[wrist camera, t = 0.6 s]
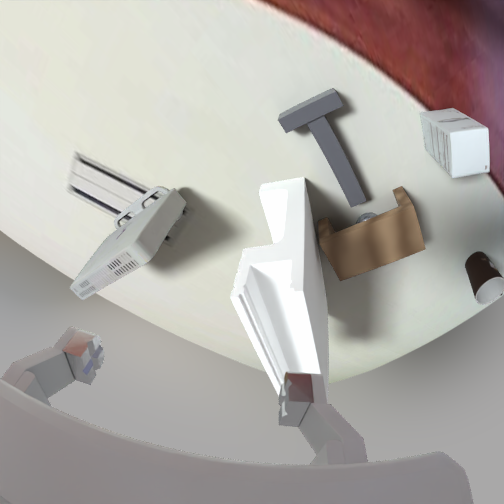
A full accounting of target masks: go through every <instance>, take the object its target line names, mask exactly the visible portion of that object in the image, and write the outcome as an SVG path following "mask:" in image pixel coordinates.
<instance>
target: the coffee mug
mask: <svg viewBox="0 0 504 504" xmlns="http://www.w3.org/2000/svg"><path fill="white" fill-rule="evenodd" d="M465 268H466V271H467V274H468V277H469V280H470V283H471V286H472V289H473V293H474V296H475V299H476V302H477V303H478V304H482V305H484V304H488V303H491V302H493V301H494V300H496V299H497V298H498V297H499V296H500V295H502V292H503V291H504V278H503V277H502V276H501V274H500V273H499V272H498V270H497V269H496V268H495V266H494V265H493V264H492V262H491V261H490V260H489V259H488V257H487V256H486V255H485V254H484V253H483V252H476V253H474V254H472V255H471V256H470V257H469V258H468V259H467V261H466V264H465Z"/></svg>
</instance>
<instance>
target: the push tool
mask: <svg viewBox="0 0 504 504" xmlns="http://www.w3.org/2000/svg"><path fill="white" fill-rule="evenodd" d="M342 106H344V105H343V104H342V102H341V100H340V98H339V96H338V94H337V93H336V91H335V90H334V89H333V88H332V89H329V90H327V91H325V92H323V93H321V94H319V95H317V96H315V97H313V98H310V99H308V100H306V101H304V102H302V103H300V104H298V105H296V106H294V107H292V108H290V109H289V110H287V111H285V112H283V113H281V114H280V115H279V118H278V121H279V123H280V124H281V126H282V127H283V129H284V130H285V132H286V133H288V132H290V131H292V130H294V129H296V128H298V127H300V126H302V125H304V124H306V123H307V125H308V127H309V129H310V130H311V132H312V134H313V136H314V137H315V139H316V141H317V143H318V144H319V146H320V148H321V150H322V152H323V153H324V155H325V157H326V159H327V161H328V163H329V165H330V166H331V168H332V170H333V172H334V174H335V176H336V178H337V180H338V182H339V184H340V186H341V188H342V190H343V192H344V194H345V196H346V198H347V200H348V202H349V204H350V206H351V207H353V206H356V205H358V204H361V203H363V202H366V199H365V196H364V193H363V191H362V188H361V186H360V184H359V182H358V180H357V178H356V175H355V173H354V171H353V169H352V167H351V165H350V163H349V161H348V159H347V157H346V155H345V153H344V151H343V149H342V147H341V145H340V143H339V141H338V139H337V137H336V135H335V133H334V132H333V130H332V128H331V126H330V124H329V122H328V121H327V119H326V117H325V114H327V113H329V112H331V111H333V110H335V109H337V108H340V107H342Z"/></svg>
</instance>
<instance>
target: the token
mask: <svg viewBox="0 0 504 504" xmlns="http://www.w3.org/2000/svg"><path fill="white" fill-rule="evenodd" d="M376 216H378V215H376V214H374V213H365V214H363V215H361V216H360V217H359V218H358V220H357V224H358V223H361V222H363V221H366V220H368V219H371V218H373V217H376Z"/></svg>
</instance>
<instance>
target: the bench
mask: <svg viewBox="0 0 504 504" xmlns="http://www.w3.org/2000/svg"><path fill="white" fill-rule="evenodd" d="M393 192H394V195H395V198H396V201H397V203H398V206H399V207H398V208H395V209H393V210H390V211H388V212H385V213H383V214H380V215H378V216H376V217H373V218H371V219H368V220H366V221H363V222H361V223H358V224H356V225H353V226H351V227H348V228H346V229H343V230H341V231H338V232H336V233H335V231H334V229H333V227H332V225H331V223H330V221H329V219H328V218H327V217H326V218H324V219H322V220H319V221H318V228H319V244H320V246H321V248H322V250H323V251H324V253H325V255H326V256H327V258H328V260H329V262H330V264H331V265H332V267H333V269H334V271H335V272H336V274H337V276H338V278H339V280H340V281H342V280H345V279H348V278H351V277H353V276H356V275H359V274H362V273H365V272H367V271H370V270H373V269H375V268H378V267H381V266H384V265H386V264H389V263H392V262H394V261H397V260H399V259H402V258H405V257H407V256H410V255H412V254H415V253H417V252H420V251H422V250H425V245H424V241H423V237H422V233H421V230H420V226H419V222H418V219H417V215H416V212H415V209H414V206H413V204H412V202H411V201H410V199H409V197H408V196H407V194H406V192H405V191H404V189H403V187H402V186H401V187H399V188H396V189H394V190H393Z"/></svg>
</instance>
